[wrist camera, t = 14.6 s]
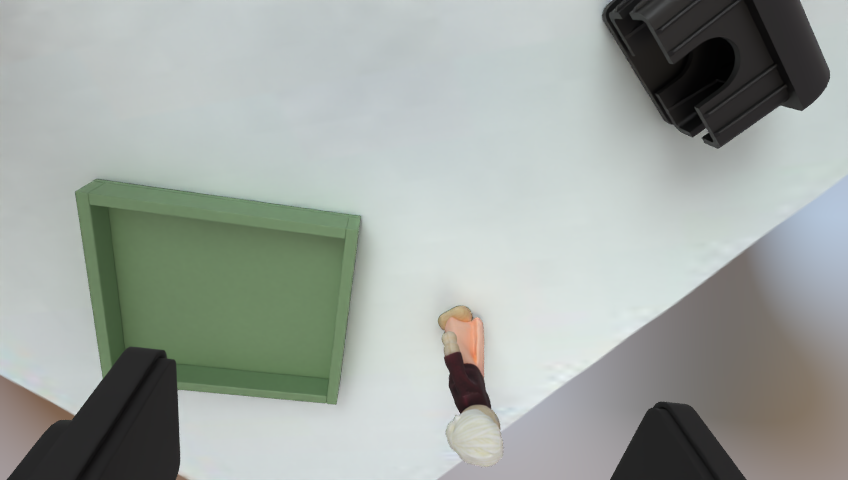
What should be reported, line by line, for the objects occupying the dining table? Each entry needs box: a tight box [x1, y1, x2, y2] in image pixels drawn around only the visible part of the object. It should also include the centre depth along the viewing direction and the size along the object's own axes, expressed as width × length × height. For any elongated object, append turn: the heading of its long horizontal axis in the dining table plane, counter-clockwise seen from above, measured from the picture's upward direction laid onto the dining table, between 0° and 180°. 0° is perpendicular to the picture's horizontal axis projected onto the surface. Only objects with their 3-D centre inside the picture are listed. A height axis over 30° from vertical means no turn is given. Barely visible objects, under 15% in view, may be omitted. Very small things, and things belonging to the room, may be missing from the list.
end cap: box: [602, 0, 830, 148], centre depth 26 cm, size 10×7×7 cm
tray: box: [75, 179, 361, 405], centre depth 35 cm, size 18×16×2 cm
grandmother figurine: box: [438, 306, 503, 467], centre depth 33 cm, size 8×4×13 cm, turn 30°
